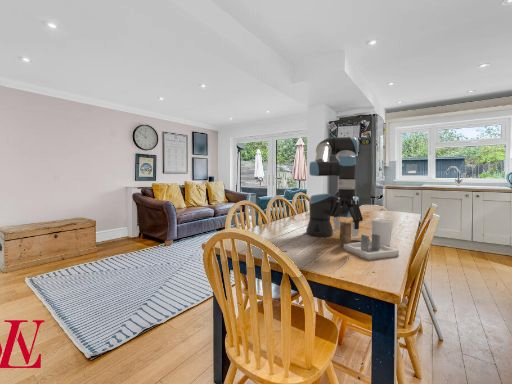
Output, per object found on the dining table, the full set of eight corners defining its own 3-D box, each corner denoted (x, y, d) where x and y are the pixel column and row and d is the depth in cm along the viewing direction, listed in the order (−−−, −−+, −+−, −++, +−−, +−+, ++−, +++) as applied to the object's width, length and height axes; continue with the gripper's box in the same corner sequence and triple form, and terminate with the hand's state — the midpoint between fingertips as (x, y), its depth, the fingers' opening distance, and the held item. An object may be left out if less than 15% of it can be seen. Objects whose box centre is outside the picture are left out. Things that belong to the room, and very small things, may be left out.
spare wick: (343, 243, 134) (343, 238, 134) (345, 241, 138) (345, 236, 138) (368, 246, 128) (368, 241, 128) (369, 244, 132) (369, 239, 132)
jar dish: (343, 249, 122) (344, 232, 122) (371, 246, 128) (371, 229, 127) (368, 260, 107) (369, 240, 107) (398, 256, 112) (399, 237, 112)
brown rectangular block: (339, 245, 128) (340, 221, 127) (343, 245, 129) (344, 221, 128) (346, 248, 123) (346, 223, 123) (350, 248, 124) (351, 223, 123)
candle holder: (394, 246, 126) (395, 222, 125) (372, 245, 128) (373, 221, 127) (388, 241, 136) (389, 218, 135) (368, 240, 138) (369, 218, 137)
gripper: (324, 187, 135) (323, 228, 136) (358, 190, 111) (356, 239, 112) (337, 187, 137) (336, 227, 138) (372, 189, 113) (370, 238, 115)
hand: (345, 232), depth 125 cm, fingers open, 13 cm apart
